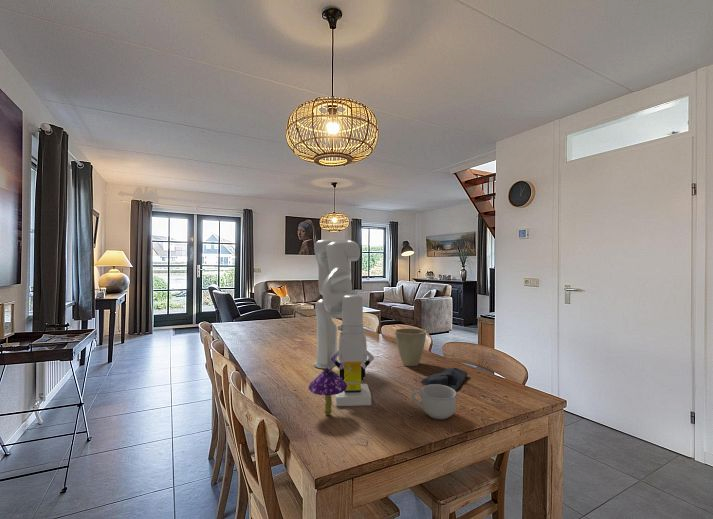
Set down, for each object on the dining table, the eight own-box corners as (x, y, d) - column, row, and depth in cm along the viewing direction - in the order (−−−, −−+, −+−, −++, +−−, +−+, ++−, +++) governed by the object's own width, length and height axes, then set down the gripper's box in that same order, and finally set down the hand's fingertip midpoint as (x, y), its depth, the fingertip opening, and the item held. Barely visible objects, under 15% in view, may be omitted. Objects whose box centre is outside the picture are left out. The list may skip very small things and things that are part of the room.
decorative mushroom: (304, 423, 103) (305, 373, 103) (312, 405, 115) (312, 361, 115) (345, 424, 102) (345, 374, 102) (348, 406, 114) (348, 362, 115)
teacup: (457, 410, 111) (457, 386, 111) (455, 425, 101) (455, 398, 101) (414, 405, 116) (414, 381, 116) (409, 418, 106) (409, 392, 106)
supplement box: (343, 386, 124) (343, 356, 124) (359, 386, 125) (359, 356, 125) (344, 393, 118) (344, 361, 118) (361, 392, 119) (361, 361, 119)
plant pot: (430, 362, 165) (430, 329, 165) (419, 370, 152) (419, 335, 153) (402, 358, 173) (402, 326, 173) (389, 365, 160) (389, 331, 161)
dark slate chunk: (474, 378, 144) (473, 367, 144) (454, 394, 126) (454, 381, 127) (440, 371, 153) (440, 360, 153) (417, 385, 136) (417, 373, 136)
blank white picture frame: (335, 392, 127) (335, 384, 127) (367, 391, 128) (367, 383, 128) (336, 406, 115) (336, 397, 115) (371, 405, 116) (371, 395, 116)
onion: (325, 383, 137) (325, 365, 137) (336, 377, 144) (336, 360, 144) (343, 386, 133) (343, 368, 134) (352, 380, 140) (352, 363, 141)
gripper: (328, 331, 117) (328, 383, 117) (377, 330, 119) (377, 382, 118) (328, 327, 125) (328, 376, 124) (374, 326, 126) (374, 375, 126)
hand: (352, 378), depth 121 cm, fingers open, 6 cm apart
